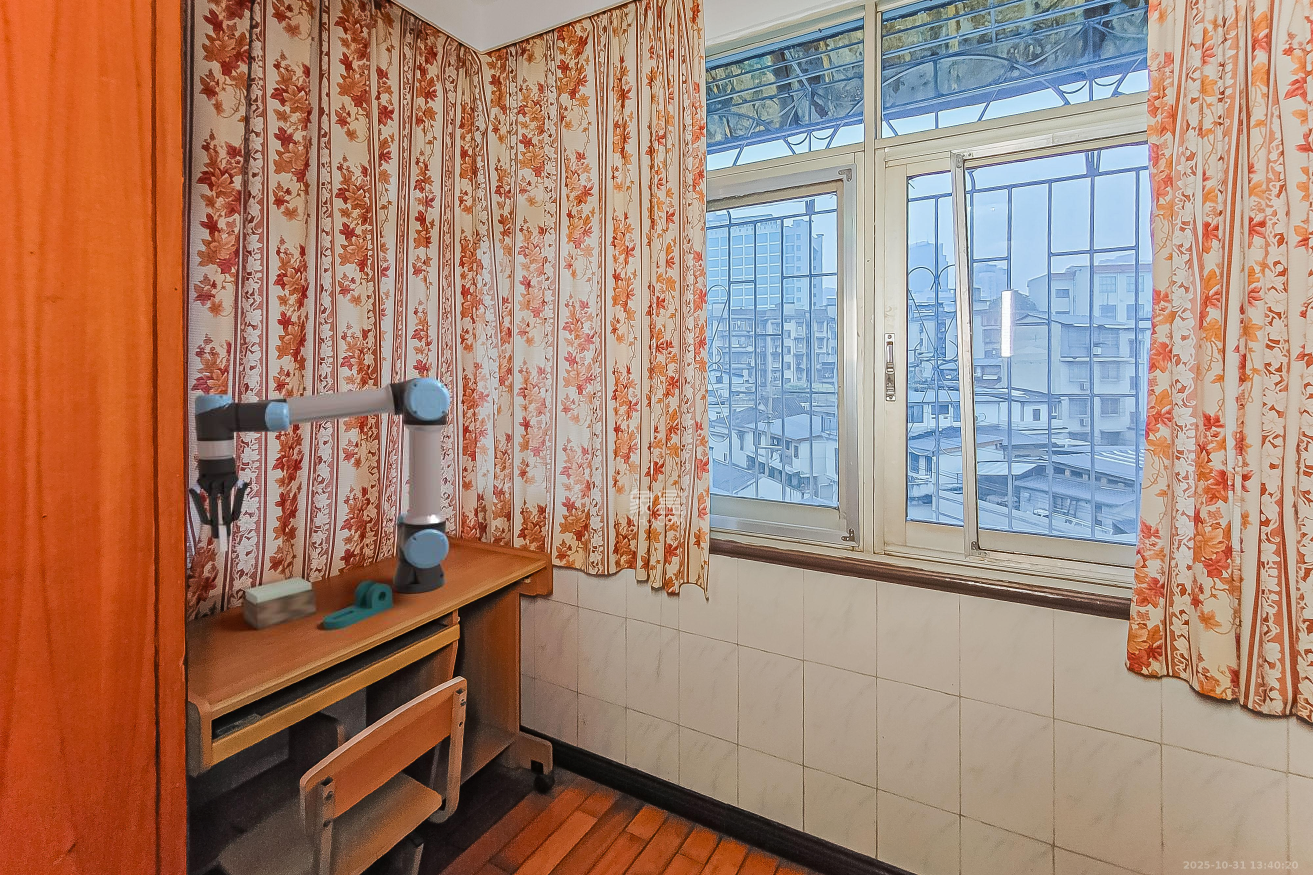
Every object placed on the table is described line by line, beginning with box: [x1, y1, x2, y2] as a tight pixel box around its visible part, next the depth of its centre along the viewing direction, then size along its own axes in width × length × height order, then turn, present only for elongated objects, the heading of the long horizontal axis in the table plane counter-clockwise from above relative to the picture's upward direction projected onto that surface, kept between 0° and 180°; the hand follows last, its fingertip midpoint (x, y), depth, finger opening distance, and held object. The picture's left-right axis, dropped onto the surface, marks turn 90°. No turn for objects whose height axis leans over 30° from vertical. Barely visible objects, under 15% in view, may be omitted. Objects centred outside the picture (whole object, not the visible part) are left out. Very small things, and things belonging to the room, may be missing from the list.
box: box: [241, 588, 317, 631], centre depth 161 cm, size 14×10×7 cm
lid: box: [245, 576, 313, 605], centre depth 161 cm, size 13×8×2 cm, turn 142°
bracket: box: [322, 580, 394, 631], centre depth 162 cm, size 18×7×8 cm, turn 156°
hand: (222, 550), depth 150 cm, fingers closed
